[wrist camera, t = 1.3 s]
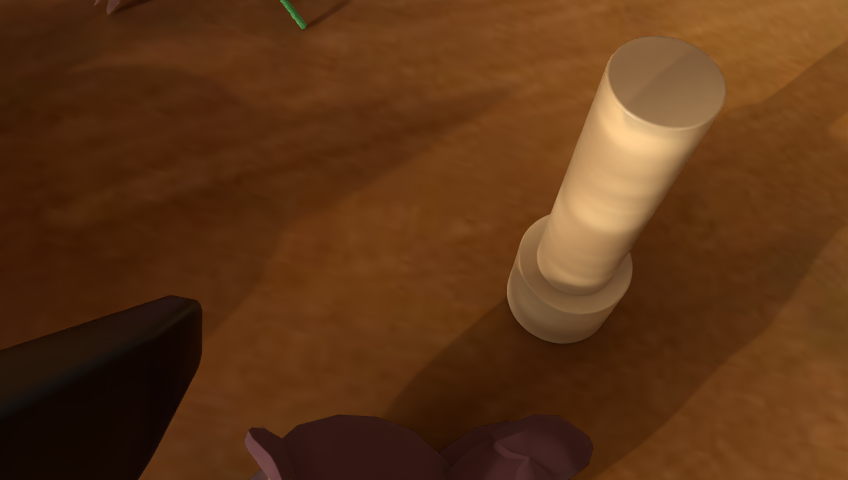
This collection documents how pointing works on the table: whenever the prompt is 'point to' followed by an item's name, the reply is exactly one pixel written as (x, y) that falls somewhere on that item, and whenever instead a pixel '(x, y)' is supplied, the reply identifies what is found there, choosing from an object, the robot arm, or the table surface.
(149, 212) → the table surface
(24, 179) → the table surface
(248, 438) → the icecream
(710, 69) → the cylinder
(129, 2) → the table surface
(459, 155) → the table surface
